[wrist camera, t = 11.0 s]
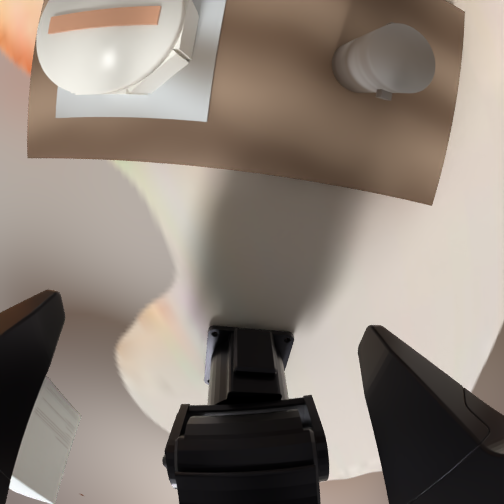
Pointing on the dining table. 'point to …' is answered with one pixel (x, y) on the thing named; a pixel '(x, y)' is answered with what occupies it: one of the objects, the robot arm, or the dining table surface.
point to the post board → (283, 97)
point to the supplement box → (45, 445)
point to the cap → (115, 44)
